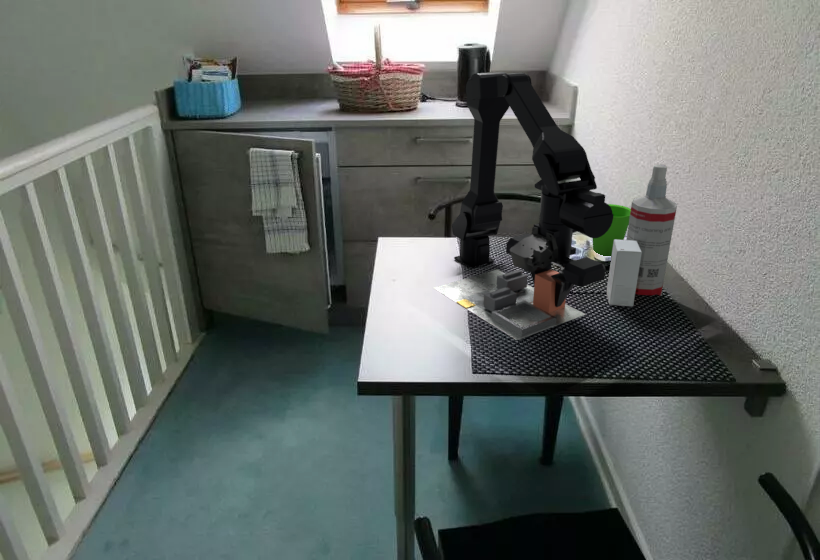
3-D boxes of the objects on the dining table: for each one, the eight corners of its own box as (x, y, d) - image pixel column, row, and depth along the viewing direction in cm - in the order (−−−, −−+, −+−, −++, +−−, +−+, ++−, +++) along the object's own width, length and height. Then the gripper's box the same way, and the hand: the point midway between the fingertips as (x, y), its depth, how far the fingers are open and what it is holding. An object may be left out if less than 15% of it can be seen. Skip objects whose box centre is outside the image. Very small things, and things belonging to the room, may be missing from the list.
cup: (586, 264, 128) (592, 216, 124) (582, 249, 136) (587, 203, 132) (630, 267, 127) (637, 217, 122) (623, 251, 135) (630, 204, 130)
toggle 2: (483, 306, 107) (484, 291, 106) (504, 299, 109) (505, 284, 108) (494, 313, 105) (494, 297, 103) (515, 306, 107) (516, 290, 106)
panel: (433, 295, 116) (433, 281, 115) (496, 276, 124) (497, 262, 122) (516, 348, 97) (517, 332, 96) (584, 321, 105) (586, 306, 104)
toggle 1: (496, 288, 114) (497, 273, 113) (516, 281, 116) (517, 267, 115) (506, 293, 112) (507, 278, 110) (526, 287, 114) (527, 272, 113)
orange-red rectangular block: (532, 304, 108) (535, 274, 106) (548, 298, 110) (551, 269, 108) (548, 313, 105) (551, 282, 103) (564, 307, 107) (567, 276, 105)
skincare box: (632, 313, 108) (642, 252, 103) (608, 311, 108) (616, 250, 103) (628, 299, 113) (637, 239, 108) (605, 297, 114) (612, 238, 109)
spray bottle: (657, 305, 110) (681, 173, 100) (616, 297, 113) (634, 168, 103) (663, 289, 117) (685, 162, 106) (623, 282, 120) (641, 158, 109)
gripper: (484, 214, 104) (481, 294, 111) (562, 245, 90) (554, 335, 96) (531, 203, 109) (526, 280, 116) (612, 231, 95) (601, 317, 102)
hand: (549, 301), depth 107 cm, fingers closed on orange-red rectangular block, 4 cm apart
